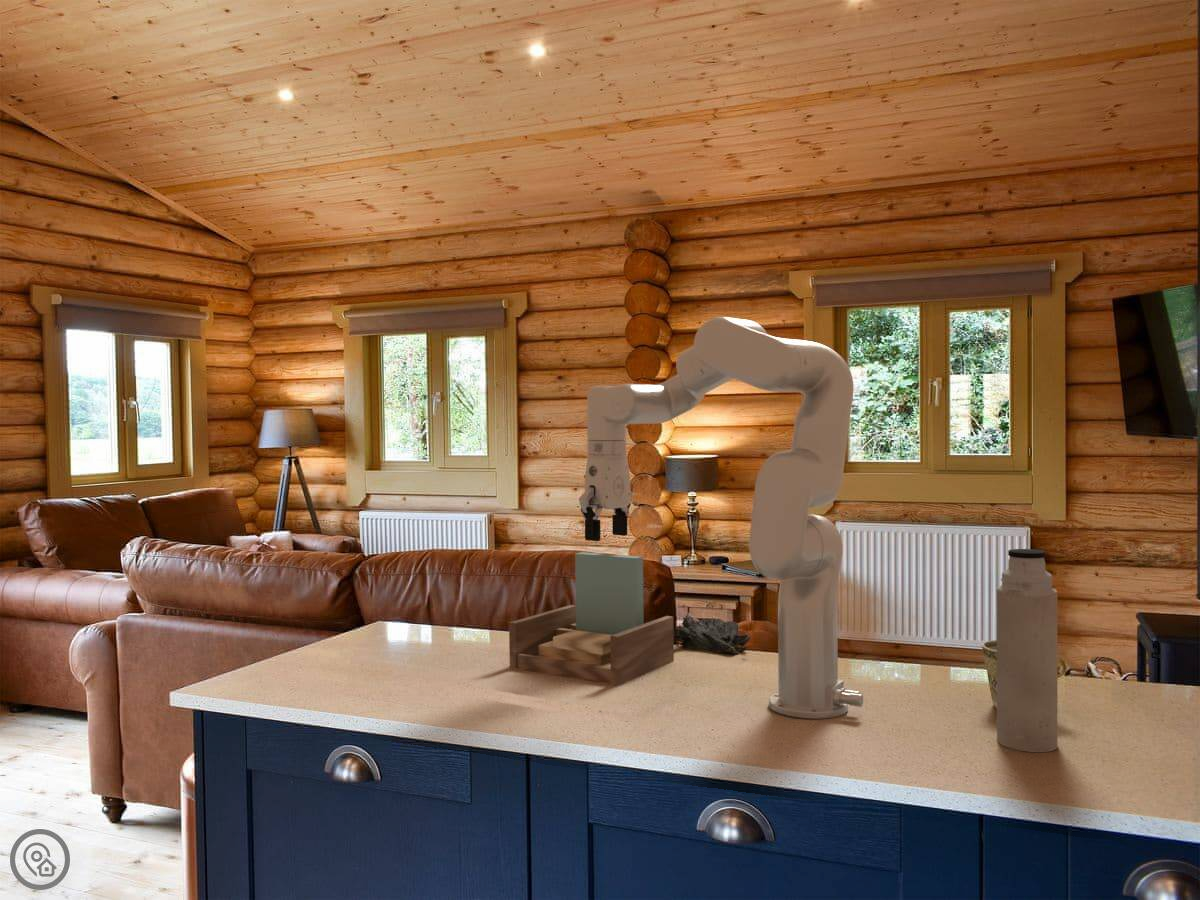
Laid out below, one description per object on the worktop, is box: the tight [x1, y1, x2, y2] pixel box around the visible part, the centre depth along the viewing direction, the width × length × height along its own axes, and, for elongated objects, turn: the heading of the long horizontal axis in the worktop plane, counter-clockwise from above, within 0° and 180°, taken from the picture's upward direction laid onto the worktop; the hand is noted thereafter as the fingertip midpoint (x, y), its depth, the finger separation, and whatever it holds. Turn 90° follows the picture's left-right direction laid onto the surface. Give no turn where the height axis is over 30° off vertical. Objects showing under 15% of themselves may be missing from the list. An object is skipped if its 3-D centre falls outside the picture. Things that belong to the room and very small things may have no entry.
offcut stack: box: [539, 630, 611, 667], centre depth 176 cm, size 16×9×6 cm, turn 57°
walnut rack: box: [508, 604, 675, 687], centre depth 179 cm, size 24×20×10 cm
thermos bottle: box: [996, 548, 1059, 753], centre depth 136 cm, size 8×8×28 cm
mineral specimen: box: [674, 612, 751, 655], centre depth 192 cm, size 15×13×10 cm
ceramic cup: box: [981, 639, 1067, 709], centre depth 152 cm, size 13×10×10 cm
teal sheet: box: [574, 551, 645, 635], centre depth 184 cm, size 14×2×20 cm, turn 57°
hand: (606, 537), depth 184 cm, fingers open, 9 cm apart
